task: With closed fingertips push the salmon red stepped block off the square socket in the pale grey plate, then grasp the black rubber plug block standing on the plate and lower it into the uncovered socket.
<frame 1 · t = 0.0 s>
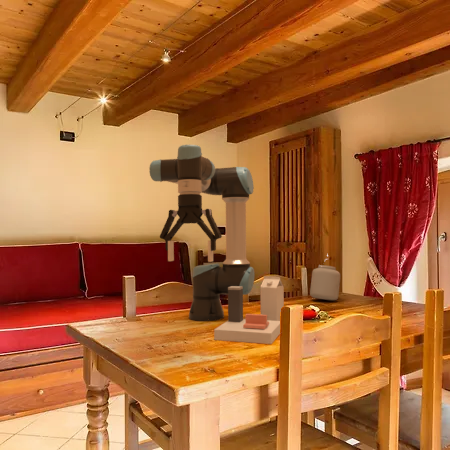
hand: (190, 261, 135), 28 cm above the table, fingers open, 13 cm apart
milk carton: (272, 323, 173), on the table
socket plate: (249, 335, 154), on the table
jar: (326, 300, 228), on the table
plug: (235, 320, 162), point 3 cm above the table, touching socket plate
salmon red stepped block: (256, 320, 151), point 6 cm above the table, slide at 0.0 cm
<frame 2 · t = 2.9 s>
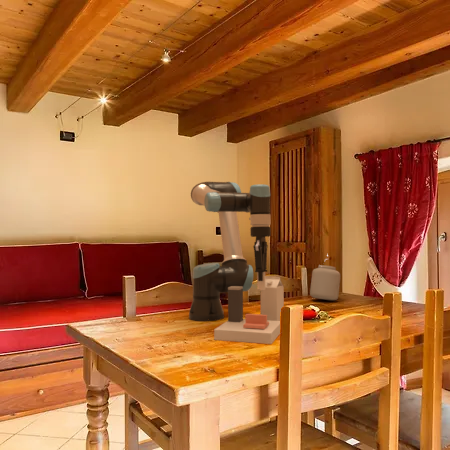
hand: (261, 289, 158), 16 cm above the table, fingers closed
nothing on the table moved.
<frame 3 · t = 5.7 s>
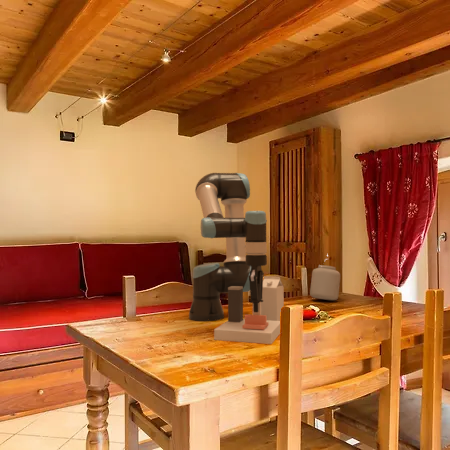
hand: (256, 320, 151), 6 cm above the table, fingers closed
salmon red stepped block: (255, 320, 150), point 6 cm above the table, slide at 1.0 cm, touching gripper
everything else where it was.
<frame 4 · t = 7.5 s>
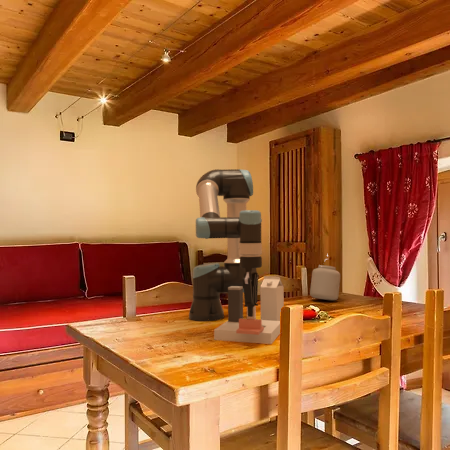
hand: (251, 325, 144), 5 cm above the table, fingers closed
salmon red stepped block: (250, 325, 143), point 6 cm above the table, slide at 8.4 cm, touching gripper
everything else where it was.
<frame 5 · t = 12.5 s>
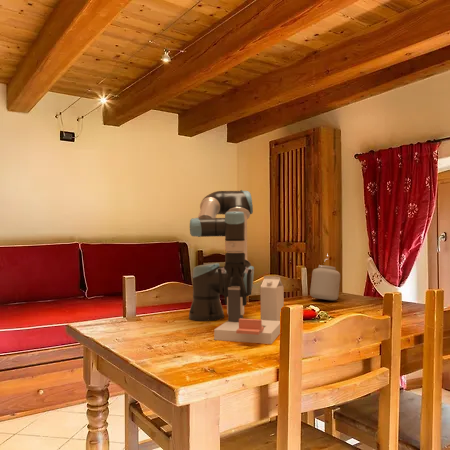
hand: (235, 313, 162), 6 cm above the table, fingers closed on plug, 4 cm apart
plug: (235, 320, 162), point 4 cm above the table, touching gripper, socket plate
salmon red stepped block: (250, 325, 143), point 6 cm above the table, slide at 8.4 cm
everything else where it was.
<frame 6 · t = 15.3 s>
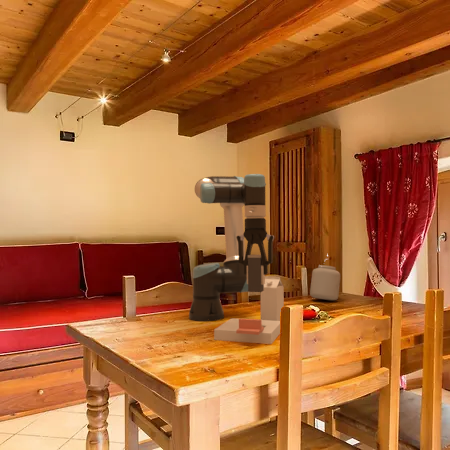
hand: (255, 283, 151), 19 cm above the table, fingers closed on plug, 4 cm apart
plug: (256, 291, 151), point 16 cm above the table, touching gripper
everything else where it was.
when the fingers open (5 cm above the table, at t = 18.4 s): plug drops 2 cm, resting on socket plate.
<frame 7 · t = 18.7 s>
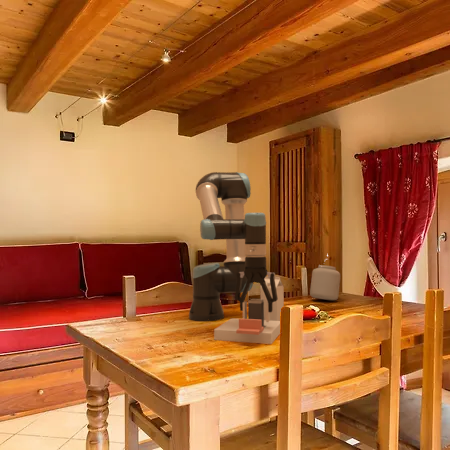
hand: (256, 320, 151), 6 cm above the table, fingers open, 8 cm apart
plug: (256, 336, 151), resting on socket plate
everything else where it was.
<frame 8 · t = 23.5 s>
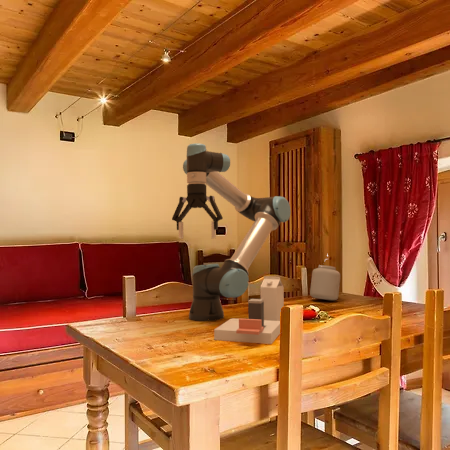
hand: (197, 238, 166), 35 cm above the table, fingers open, 13 cm apart
nothing on the table moved.
at the end: plug 0.0 cm from the target spot on the socket plate, point 0.2 cm above the socket plate's base; salmon red stepped block slide at 8.4 cm; the gripper is holding nothing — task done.
